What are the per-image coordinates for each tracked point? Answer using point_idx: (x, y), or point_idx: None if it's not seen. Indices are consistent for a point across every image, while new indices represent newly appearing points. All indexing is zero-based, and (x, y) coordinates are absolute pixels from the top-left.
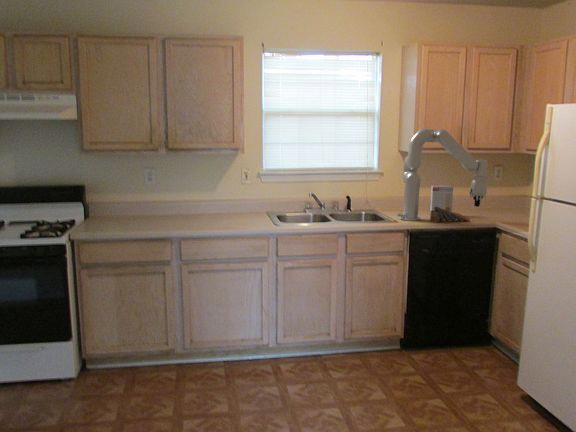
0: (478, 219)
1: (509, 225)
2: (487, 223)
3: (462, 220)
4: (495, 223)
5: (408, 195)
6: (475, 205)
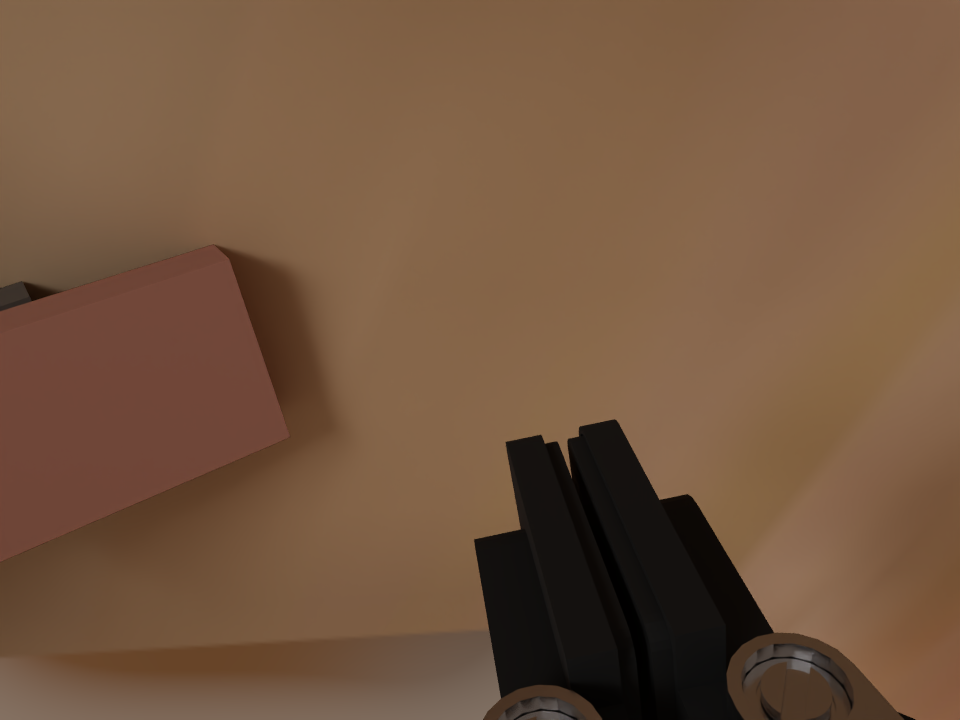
0: (633, 147)
1: None
2: None
3: None
4: None
5: None
6: (519, 517)
